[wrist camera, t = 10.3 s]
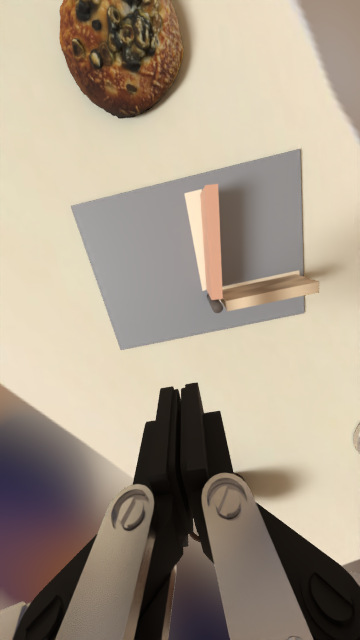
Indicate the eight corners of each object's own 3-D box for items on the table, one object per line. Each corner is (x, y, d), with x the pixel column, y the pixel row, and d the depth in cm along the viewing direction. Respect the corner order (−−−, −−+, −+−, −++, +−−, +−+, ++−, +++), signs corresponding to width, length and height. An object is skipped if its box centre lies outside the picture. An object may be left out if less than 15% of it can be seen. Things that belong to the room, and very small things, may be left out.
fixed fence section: (295, 274, 29) (318, 281, 24) (295, 283, 29) (318, 292, 25) (206, 293, 30) (211, 304, 25) (207, 301, 30) (213, 314, 25)
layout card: (298, 149, 24) (300, 148, 24) (303, 312, 31) (304, 313, 31) (71, 206, 26) (70, 206, 26) (121, 349, 33) (120, 350, 32)
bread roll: (81, 128, 24) (57, 91, 19) (57, -8, 21) (23, -91, 16) (186, 117, 24) (190, 78, 19) (175, -19, 21) (176, -105, 17)
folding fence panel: (215, 289, 29) (222, 298, 25) (206, 290, 29) (211, 300, 25) (210, 193, 25) (218, 183, 21) (200, 194, 25) (205, 185, 21)
